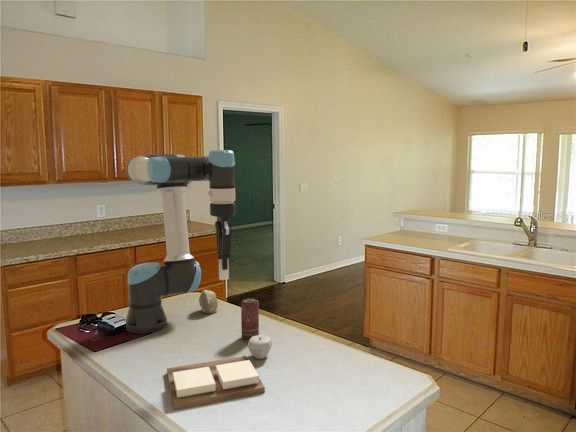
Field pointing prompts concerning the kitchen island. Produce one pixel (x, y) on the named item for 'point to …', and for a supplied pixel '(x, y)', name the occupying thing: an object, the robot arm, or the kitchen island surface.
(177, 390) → the square block
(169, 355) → the kitchen island surface
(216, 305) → the grey rock
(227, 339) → the kitchen island surface
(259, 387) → the board
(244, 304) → the can
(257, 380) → the tile cream
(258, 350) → the apple
